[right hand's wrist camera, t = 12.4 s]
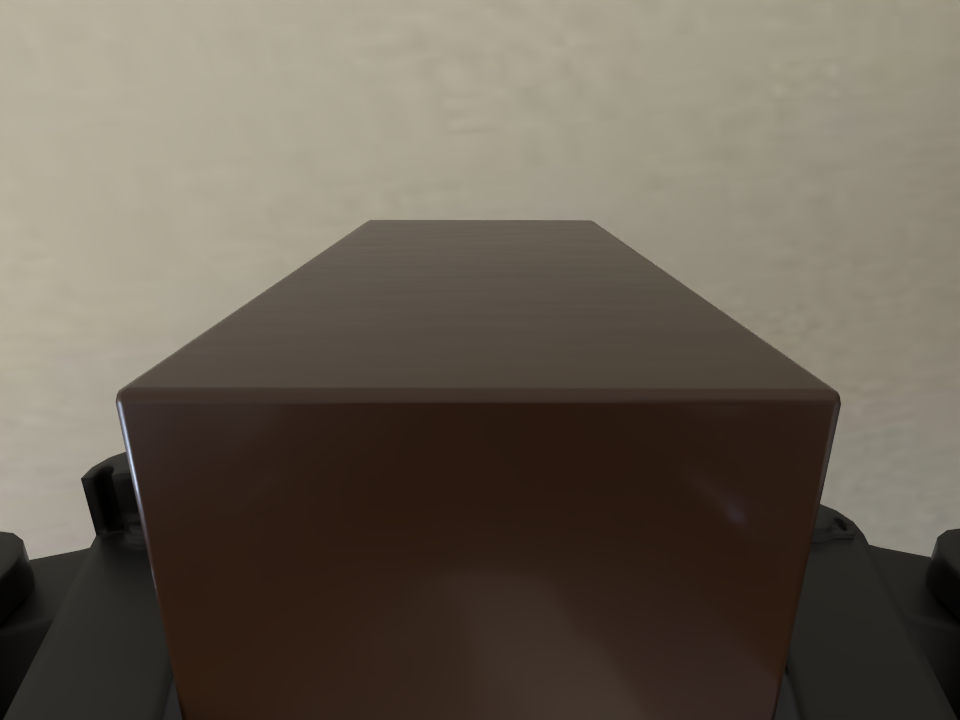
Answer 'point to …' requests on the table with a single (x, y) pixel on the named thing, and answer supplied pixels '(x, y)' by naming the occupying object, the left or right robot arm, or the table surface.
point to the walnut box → (478, 487)
